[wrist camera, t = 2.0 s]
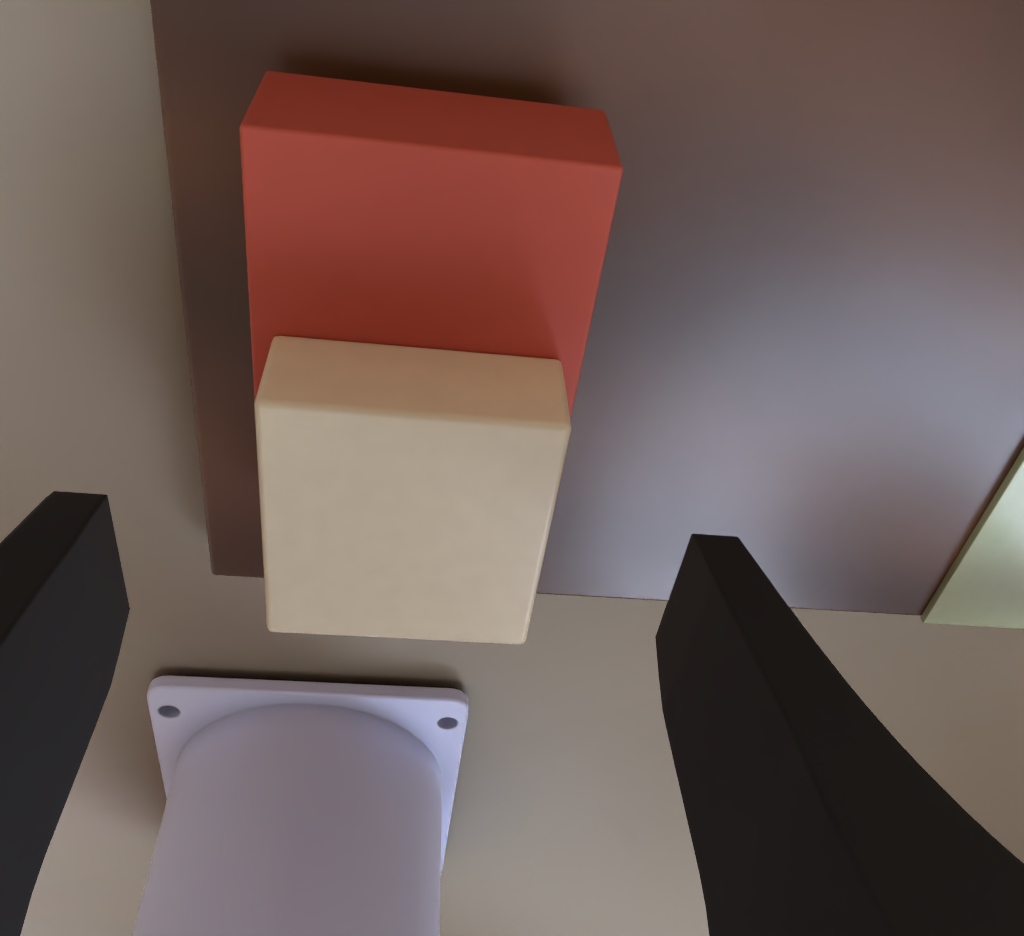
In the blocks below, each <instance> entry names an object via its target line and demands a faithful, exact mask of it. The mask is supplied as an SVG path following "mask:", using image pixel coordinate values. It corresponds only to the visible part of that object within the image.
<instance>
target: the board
mask: <svg viewBox="0 0 1024 936" xmlns="http://www.w3.org/2000/svg"><path fill="white" fill-rule="evenodd" d="M150 3H151V13H152V22H153V31H154V40H155V50H156V59H157V68H158V78H159V87H160V96H161V106H162V115H163V124H164V133H165V143H166V152H167V161H168V171H169V180H170V189H171V199H172V208H173V217H174V227H175V236H176V245H177V254H178V264H179V273H180V282H181V292H182V301H183V310H184V320H185V329H186V338H187V347H188V357H189V366H190V375H191V385H192V394H193V403H194V413H195V422H196V431H197V440H198V450H199V459H200V468H201V478H202V487H203V496H204V506H205V515H206V524H207V534H208V543H209V552H210V561H211V570H212V573H213V574H214V575H226V576H243V577H261V578H264V566H263V548H262V530H261V513H260V495H259V477H258V459H257V442H256V424H255V406H254V403H255V398H254V380H253V362H252V344H251V327H250V309H249V291H248V273H247V255H246V237H245V220H244V202H243V184H242V166H241V148H240V130H239V127H240V125H241V123H242V120H243V118H244V116H245V114H246V112H247V110H248V108H249V106H250V104H251V102H252V100H253V98H254V96H255V94H256V92H257V89H258V87H259V85H260V83H261V81H262V79H263V77H264V75H265V73H266V72H267V71H274V72H283V73H291V74H300V75H308V76H317V77H326V78H334V79H343V80H351V81H360V82H368V83H377V84H385V85H394V86H402V87H411V88H419V89H428V90H436V91H445V92H454V93H462V94H471V95H479V96H488V97H496V98H505V99H513V100H522V101H530V102H539V103H547V104H556V105H564V106H573V107H581V108H590V109H599V110H603V111H605V114H606V117H607V120H608V124H609V127H610V130H611V133H612V136H613V139H614V142H615V145H616V148H617V152H618V155H619V158H620V161H621V164H622V167H623V172H622V177H621V182H620V187H619V191H618V196H617V201H616V206H615V210H614V215H613V220H612V224H611V229H610V234H609V239H608V243H607V248H606V253H605V258H604V262H603V267H602V272H601V277H600V281H599V286H598V291H597V295H596V300H595V305H594V310H593V314H592V319H591V324H590V329H589V333H588V338H587V343H586V348H585V352H584V357H583V362H582V367H581V371H580V376H579V381H578V385H577V390H576V395H575V400H574V404H573V409H572V414H571V419H570V423H571V432H570V436H569V441H568V446H567V450H566V455H565V460H564V464H563V469H562V474H561V478H560V483H559V488H558V493H557V497H556V502H555V507H554V511H553V516H552V521H551V525H550V530H549V535H548V539H547V544H546V549H545V553H544V558H543V563H542V567H541V572H540V577H539V581H538V586H537V591H536V593H539V594H557V595H574V596H592V597H609V598H626V599H644V600H661V601H668V600H669V597H670V594H671V591H672V588H673V586H674V583H675V580H676V577H677V574H678V571H679V568H680V566H681V563H682V560H683V557H684V554H685V551H686V548H687V546H688V543H689V540H690V537H691V534H706V535H721V536H736V537H738V538H739V539H740V540H741V542H742V543H743V544H744V546H745V547H746V548H747V550H748V551H749V552H750V554H751V555H752V556H753V558H754V559H755V561H756V562H757V563H758V565H759V566H760V567H761V569H762V570H763V572H764V573H765V574H766V576H767V577H768V579H769V580H770V581H771V583H772V584H773V585H774V587H775V588H776V590H777V591H778V592H779V594H780V595H781V597H782V598H783V599H784V601H785V602H786V603H787V605H788V606H789V607H790V608H800V609H818V610H835V611H853V612H870V613H888V614H905V615H921V617H920V618H921V620H922V622H923V623H928V624H945V625H963V626H981V627H998V628H1016V629H1024V0H150Z"/></svg>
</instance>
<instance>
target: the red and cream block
mask: <svg viewBox="0 0 1024 936" xmlns="http://www.w3.org/2000/svg"><path fill="white" fill-rule="evenodd" d="M239 130H240V148H241V166H242V184H243V202H244V220H245V237H246V255H247V273H248V291H249V309H250V327H251V344H252V362H253V380H254V398H255V403H254V406H255V424H256V442H257V459H258V477H259V495H260V513H261V530H262V548H263V566H264V583H265V601H266V619H267V627H268V629H269V631H272V632H286V633H305V634H325V635H344V636H364V637H384V638H403V639H423V640H442V641H462V642H481V643H501V644H523V643H524V642H525V640H526V638H527V633H528V628H529V624H530V619H531V614H532V610H533V605H534V600H535V596H536V591H537V586H538V581H539V577H540V572H541V567H542V563H543V558H544V553H545V549H546V544H547V539H548V535H549V530H550V525H551V521H552V516H553V511H554V507H555V502H556V497H557V493H558V488H559V483H560V478H561V474H562V469H563V464H564V460H565V455H566V450H567V446H568V441H569V436H570V432H571V423H570V419H571V414H572V409H573V404H574V400H575V395H576V390H577V385H578V381H579V376H580V371H581V367H582V362H583V357H584V352H585V348H586V343H587V338H588V333H589V329H590V324H591V319H592V314H593V310H594V305H595V300H596V295H597V291H598V286H599V281H600V277H601V272H602V267H603V262H604V258H605V253H606V248H607V243H608V239H609V234H610V229H611V224H612V220H613V215H614V210H615V206H616V201H617V196H618V191H619V187H620V182H621V177H622V172H623V167H622V164H621V161H620V158H619V155H618V152H617V148H616V145H615V142H614V139H613V136H612V133H611V130H610V127H609V124H608V120H607V117H606V114H605V111H603V110H599V109H590V108H581V107H573V106H564V105H556V104H547V103H539V102H530V101H522V100H513V99H505V98H496V97H488V96H479V95H471V94H462V93H454V92H445V91H436V90H428V89H419V88H411V87H402V86H394V85H385V84H377V83H368V82H360V81H351V80H343V79H334V78H326V77H317V76H308V75H300V74H291V73H283V72H274V71H267V72H266V73H265V75H264V77H263V79H262V81H261V83H260V85H259V87H258V89H257V92H256V94H255V96H254V98H253V100H252V102H251V104H250V106H249V108H248V110H247V112H246V114H245V116H244V118H243V120H242V123H241V125H240V127H239Z"/></svg>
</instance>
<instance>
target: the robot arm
mask: <svg viewBox="0 0 1024 936" xmlns="http://www.w3.org/2000/svg"><path fill="white" fill-rule="evenodd" d="M129 610H130V608H129V603H128V598H127V593H126V588H125V583H124V578H123V573H122V567H121V562H120V557H119V552H118V547H117V542H116V537H115V532H114V527H113V522H112V517H111V512H110V507H109V501H108V496H107V495H103V494H88V493H73V492H57V491H54V492H53V493H51V494H50V495H49V496H48V497H46V498H45V499H44V500H43V501H42V502H41V503H40V504H39V505H38V506H37V507H36V508H35V509H34V510H33V511H32V512H31V513H30V514H29V515H28V516H27V517H26V518H25V519H24V520H23V521H22V522H21V523H20V524H19V525H18V526H17V527H16V528H15V529H14V530H13V531H12V532H11V533H10V534H9V535H8V536H7V537H6V538H5V539H4V540H3V541H2V542H1V543H0V936H20V934H21V930H22V927H23V923H24V920H25V916H26V913H27V909H28V905H29V902H30V898H31V895H32V892H33V889H34V886H35V883H36V880H37V877H38V874H39V871H40V868H41V866H42V863H43V860H44V857H45V854H46V852H47V849H48V846H49V844H50V841H51V839H52V836H53V834H54V831H55V828H56V826H57V823H58V821H59V818H60V816H61V813H62V811H63V808H64V805H65V803H66V800H67V798H68V795H69V793H70V790H71V788H72V785H73V782H74V780H75V777H76V775H77V772H78V770H79V767H80V765H81V762H82V759H83V757H84V754H85V752H86V749H87V747H88V744H89V741H90V739H91V736H92V734H93V731H94V728H95V726H96V723H97V721H98V718H99V715H100V713H101V710H102V708H103V705H104V702H105V700H106V697H107V694H108V692H109V689H110V686H111V683H112V679H113V675H114V671H115V667H116V663H117V660H118V656H119V652H120V648H121V643H122V639H123V635H124V631H125V627H126V622H127V618H128V614H129ZM656 648H657V660H658V671H659V681H660V690H661V699H662V708H663V714H664V718H665V723H666V728H667V732H668V737H669V741H670V746H671V750H672V755H673V759H674V764H675V768H676V773H677V777H678V781H679V786H680V790H681V794H682V799H683V803H684V807H685V812H686V816H687V820H688V825H689V829H690V833H691V838H692V842H693V847H694V851H695V855H696V860H697V864H698V868H699V873H700V878H701V884H702V889H703V894H704V900H705V905H706V911H707V919H708V927H709V935H710V936H1024V864H1023V863H1022V862H1021V861H1020V860H1019V859H1017V858H1016V857H1015V856H1014V855H1013V854H1012V853H1011V852H1010V851H1008V850H1007V849H1006V848H1005V847H1004V846H1003V845H1002V844H1001V843H999V842H998V841H997V840H996V839H995V838H994V837H993V836H991V835H990V834H989V833H988V832H987V831H986V830H985V829H984V828H983V827H982V826H981V825H980V824H979V823H978V822H977V821H975V820H974V819H973V818H972V817H971V816H970V815H969V814H968V813H967V812H966V811H965V810H964V809H963V808H962V807H961V806H960V805H959V804H958V803H957V802H956V801H955V800H954V799H953V798H952V797H951V796H950V795H949V794H948V793H947V792H946V791H945V790H944V789H943V788H942V787H941V786H940V785H939V784H938V783H937V782H936V781H935V780H934V779H933V778H932V777H931V776H930V775H929V774H928V773H927V772H926V771H925V770H924V769H923V768H922V767H921V766H920V765H919V764H918V763H917V762H916V761H915V760H914V759H913V757H912V756H911V755H910V754H909V753H908V752H907V751H906V750H905V749H904V748H903V747H902V746H901V745H900V744H899V742H898V741H897V740H896V739H895V738H894V737H893V736H892V735H891V733H890V732H889V731H888V730H887V729H886V728H885V727H884V725H883V724H882V723H881V722H880V721H879V720H878V718H877V717H876V716H875V715H874V714H873V713H872V712H871V710H870V709H869V708H868V707H867V706H866V705H865V704H864V702H863V701H862V700H861V699H860V697H859V696H858V695H857V694H856V693H855V691H854V690H853V689H852V688H851V687H850V685H849V684H848V683H847V682H846V680H845V679H844V678H843V677H842V675H841V674H840V673H839V672H838V670H837V669H836V668H835V666H834V665H833V664H832V663H831V661H830V660H829V659H828V658H827V656H826V655H825V654H824V652H823V651H822V650H821V649H820V647H819V646H818V645H817V644H816V642H815V641H814V640H813V638H812V637H811V636H810V634H809V633H808V632H807V630H806V629H805V628H804V626H803V625H802V624H801V622H800V621H799V620H798V618H797V617H796V616H795V614H794V613H793V612H792V610H791V609H790V607H789V606H788V605H787V603H786V602H785V601H784V599H783V598H782V597H781V595H780V594H779V592H778V591H777V590H776V588H775V587H774V585H773V584H772V583H771V581H770V580H769V579H768V577H767V576H766V574H765V573H764V572H763V570H762V569H761V567H760V566H759V565H758V563H757V562H756V561H755V559H754V558H753V556H752V555H751V554H750V552H749V551H748V550H747V548H746V547H745V546H744V544H743V543H742V542H741V540H740V539H739V538H738V537H736V536H721V535H706V534H691V537H690V540H689V543H688V546H687V548H686V551H685V554H684V557H683V560H682V563H681V566H680V568H679V571H678V574H677V577H676V580H675V583H674V586H673V588H672V591H671V594H670V597H669V600H668V603H667V606H666V608H665V611H664V614H663V617H662V620H661V623H660V626H659V628H658V631H657V634H656ZM147 702H148V707H149V712H150V717H151V722H152V727H153V732H154V737H155V743H156V748H157V753H158V758H159V763H160V768H161V773H162V779H163V784H164V789H165V794H166V799H167V802H166V806H165V810H164V814H163V818H162V822H161V825H160V829H159V833H158V837H157V841H156V845H155V849H154V852H153V856H152V860H151V864H150V868H149V872H148V875H147V879H146V883H145V887H144V891H143V895H142V899H141V902H140V906H139V910H138V914H137V918H136V922H135V925H134V929H133V933H132V936H440V883H441V873H442V868H443V862H444V856H445V850H446V844H447V838H448V832H449V826H450V820H451V814H452V808H453V802H454V796H455V790H456V784H457V778H458V772H459V766H460V760H461V754H462V748H463V742H464V736H465V730H466V724H467V717H468V711H469V701H468V696H467V695H466V694H465V693H464V692H462V691H460V690H458V689H453V688H436V687H414V686H392V685H370V684H348V683H326V682H304V681H282V680H260V679H238V678H216V677H194V676H172V675H167V676H160V677H157V678H155V679H153V680H152V681H151V682H150V685H149V689H148V692H147Z"/></svg>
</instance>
